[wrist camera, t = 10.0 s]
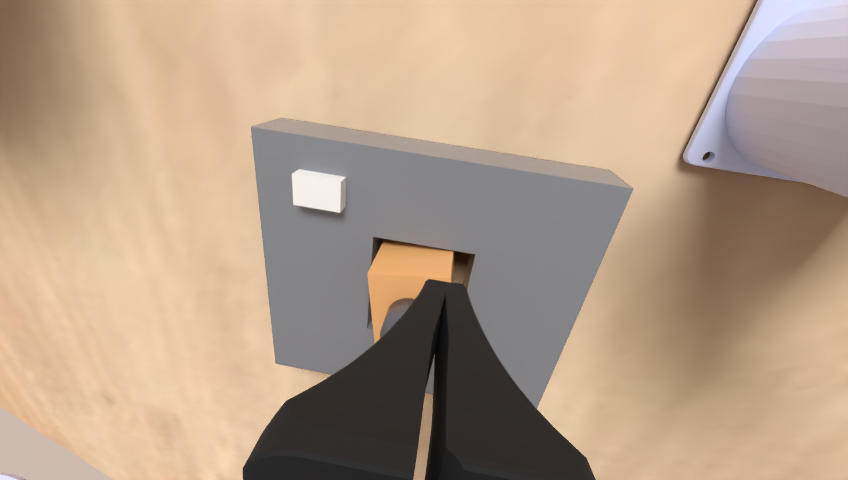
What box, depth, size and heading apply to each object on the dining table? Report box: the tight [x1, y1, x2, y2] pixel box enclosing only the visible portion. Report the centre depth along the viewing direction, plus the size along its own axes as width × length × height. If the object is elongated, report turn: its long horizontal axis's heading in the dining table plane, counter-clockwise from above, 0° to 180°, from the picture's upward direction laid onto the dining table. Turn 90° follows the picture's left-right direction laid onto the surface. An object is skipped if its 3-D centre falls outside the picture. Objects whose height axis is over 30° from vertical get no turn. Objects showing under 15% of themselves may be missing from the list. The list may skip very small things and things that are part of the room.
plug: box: [367, 239, 455, 356], centre depth 19 cm, size 4×5×7 cm
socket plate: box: [251, 118, 633, 409], centre depth 21 cm, size 18×16×4 cm
